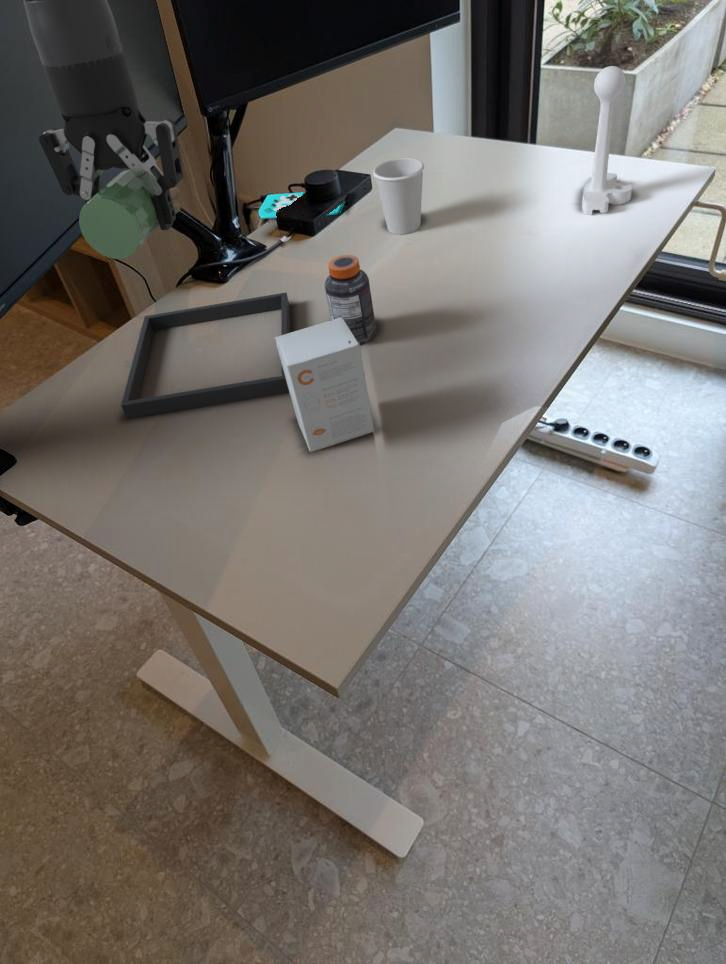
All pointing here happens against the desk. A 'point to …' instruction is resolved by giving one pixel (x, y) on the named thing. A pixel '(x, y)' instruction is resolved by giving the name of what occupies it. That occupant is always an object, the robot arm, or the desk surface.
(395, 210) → the dixie cup
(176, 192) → the stick
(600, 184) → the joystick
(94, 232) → the green cup
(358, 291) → the pill bottle
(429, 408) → the desk surface
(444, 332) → the desk surface
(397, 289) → the desk surface
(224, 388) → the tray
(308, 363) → the small box
